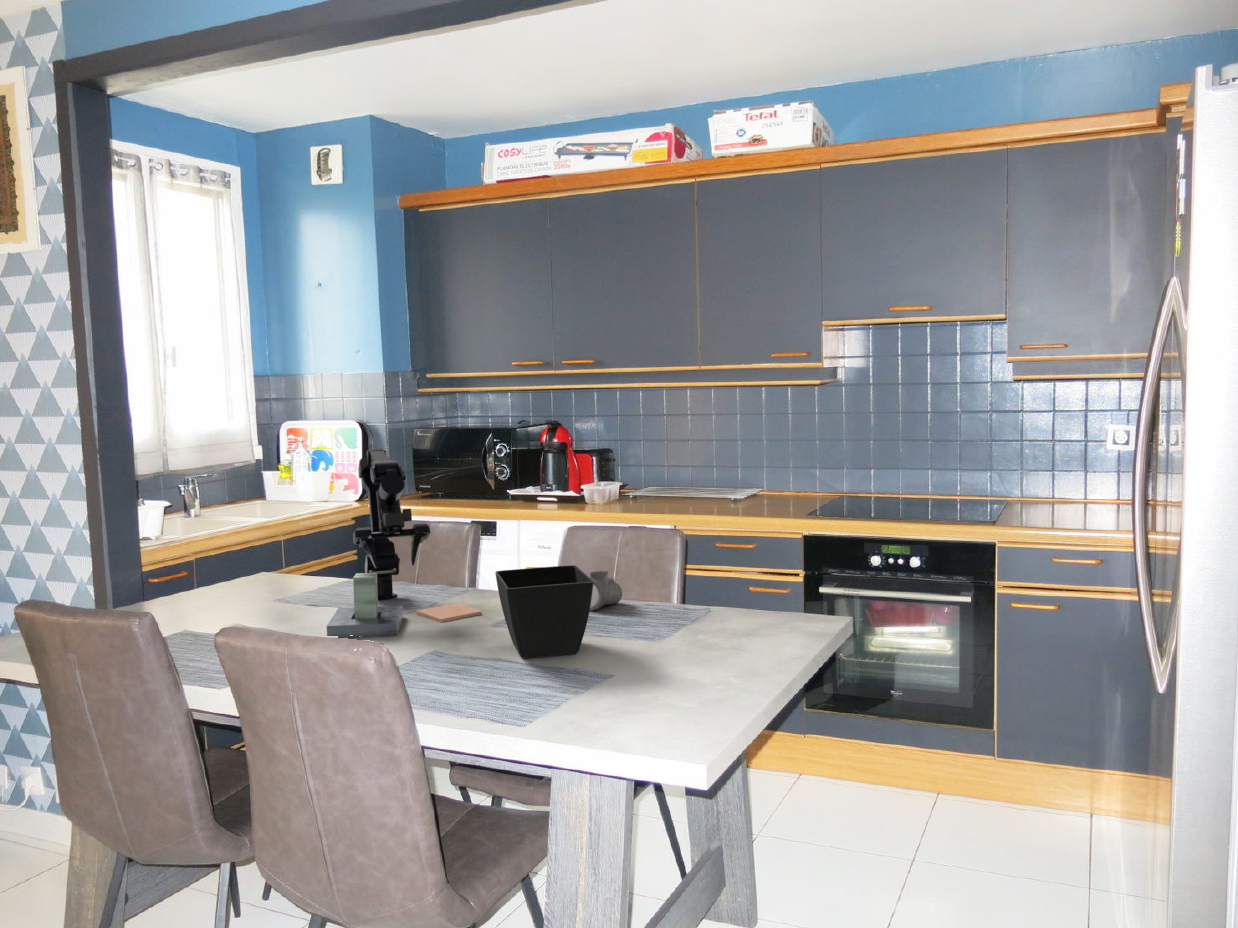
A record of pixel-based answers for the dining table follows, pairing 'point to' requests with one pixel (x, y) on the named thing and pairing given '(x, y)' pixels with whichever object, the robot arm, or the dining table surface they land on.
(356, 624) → the socket plate
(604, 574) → the pipe fitting
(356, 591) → the square plug
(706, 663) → the dining table surface
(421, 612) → the terracotta pad
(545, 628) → the flower pot
